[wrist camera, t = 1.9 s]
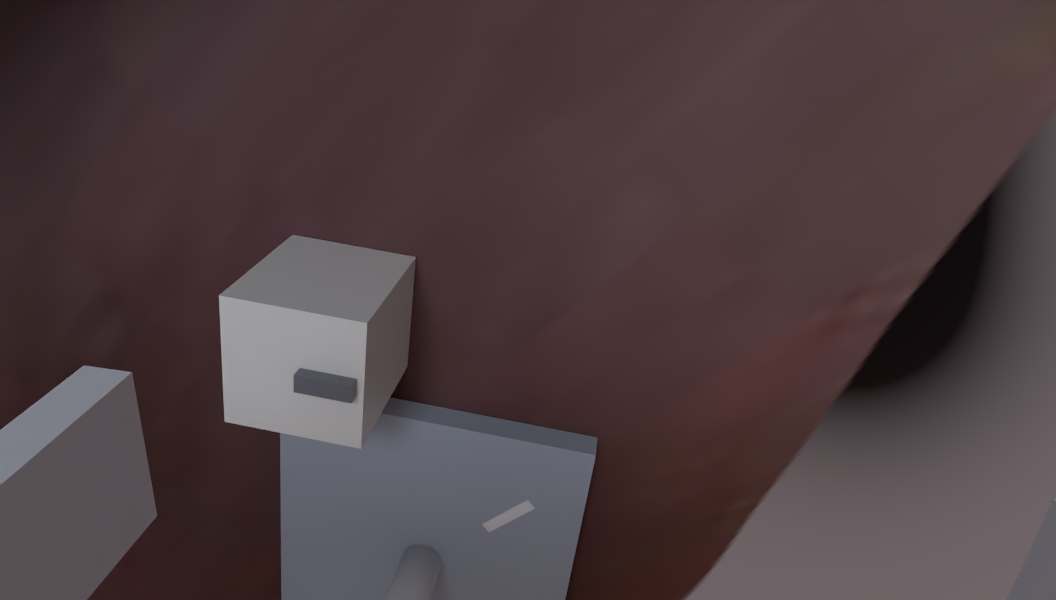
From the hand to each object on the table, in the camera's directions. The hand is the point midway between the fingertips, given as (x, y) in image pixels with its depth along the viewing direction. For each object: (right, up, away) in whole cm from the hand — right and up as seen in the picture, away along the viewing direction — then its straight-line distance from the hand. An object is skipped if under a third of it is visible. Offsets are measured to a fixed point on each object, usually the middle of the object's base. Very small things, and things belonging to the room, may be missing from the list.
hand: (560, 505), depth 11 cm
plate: (-6, -10, +32) cm, 34 cm away
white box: (-9, +3, +26) cm, 28 cm away
